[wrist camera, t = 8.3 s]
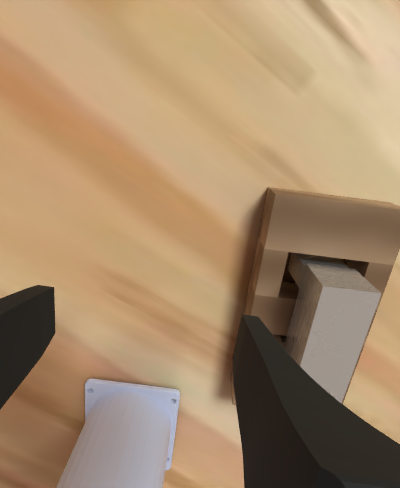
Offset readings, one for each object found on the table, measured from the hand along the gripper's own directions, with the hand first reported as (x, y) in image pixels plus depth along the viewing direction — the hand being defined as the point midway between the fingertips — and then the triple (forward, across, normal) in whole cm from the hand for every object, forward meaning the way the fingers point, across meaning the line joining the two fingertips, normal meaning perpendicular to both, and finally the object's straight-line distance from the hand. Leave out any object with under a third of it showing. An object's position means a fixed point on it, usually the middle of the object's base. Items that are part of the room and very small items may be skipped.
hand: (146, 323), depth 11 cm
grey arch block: (+10, -10, +3) cm, 14 cm away
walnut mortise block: (+10, -10, +4) cm, 15 cm away
